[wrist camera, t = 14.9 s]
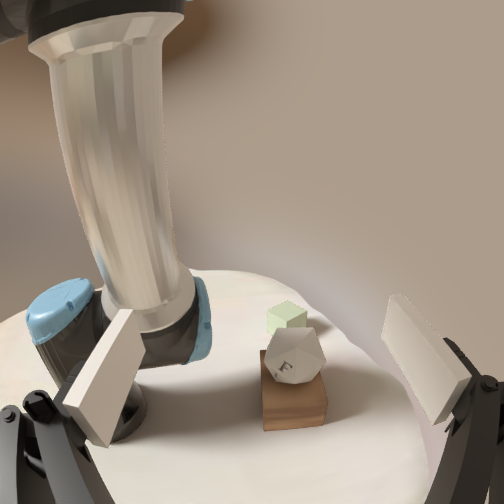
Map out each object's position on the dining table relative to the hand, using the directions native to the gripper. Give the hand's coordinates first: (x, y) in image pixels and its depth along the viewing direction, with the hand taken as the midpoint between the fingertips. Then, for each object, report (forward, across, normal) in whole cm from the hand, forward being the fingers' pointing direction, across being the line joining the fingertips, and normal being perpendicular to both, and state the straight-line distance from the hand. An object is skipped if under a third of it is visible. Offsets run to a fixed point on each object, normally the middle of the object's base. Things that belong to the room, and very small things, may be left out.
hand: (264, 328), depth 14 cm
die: (+20, +5, -24) cm, 31 cm away
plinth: (+20, +5, -30) cm, 36 cm away
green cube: (+39, +6, -30) cm, 49 cm away
